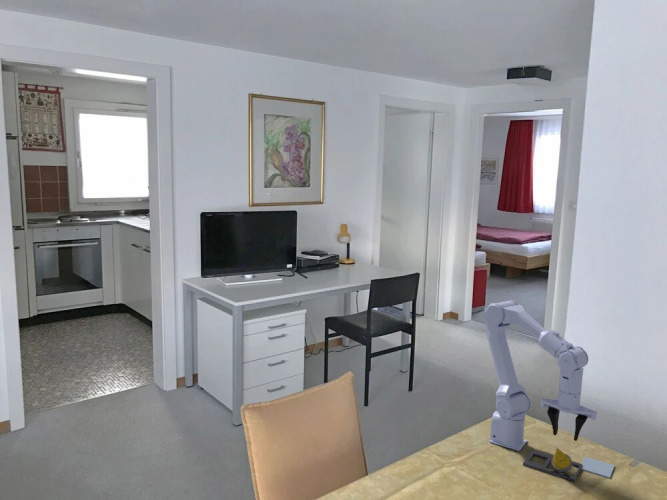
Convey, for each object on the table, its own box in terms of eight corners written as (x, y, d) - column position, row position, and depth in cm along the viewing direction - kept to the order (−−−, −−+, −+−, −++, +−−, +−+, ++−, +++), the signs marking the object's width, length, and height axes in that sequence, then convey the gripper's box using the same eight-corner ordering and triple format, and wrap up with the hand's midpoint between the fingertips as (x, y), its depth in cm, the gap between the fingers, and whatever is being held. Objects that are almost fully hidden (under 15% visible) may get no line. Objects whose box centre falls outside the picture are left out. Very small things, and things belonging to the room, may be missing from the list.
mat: (578, 469, 159) (579, 467, 159) (584, 457, 166) (584, 456, 166) (609, 478, 155) (609, 477, 154) (614, 466, 161) (614, 465, 161)
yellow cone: (574, 478, 155) (568, 456, 150) (554, 477, 158) (547, 456, 153) (573, 461, 159) (567, 439, 154) (553, 460, 162) (546, 439, 157)
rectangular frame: (522, 465, 160) (522, 463, 160) (532, 451, 168) (532, 449, 168) (574, 482, 152) (574, 479, 152) (582, 466, 160) (582, 464, 160)
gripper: (539, 388, 156) (535, 434, 158) (595, 401, 148) (590, 449, 150) (545, 381, 162) (541, 425, 164) (600, 393, 154) (595, 440, 156)
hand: (565, 436), depth 157 cm, fingers open, 5 cm apart
